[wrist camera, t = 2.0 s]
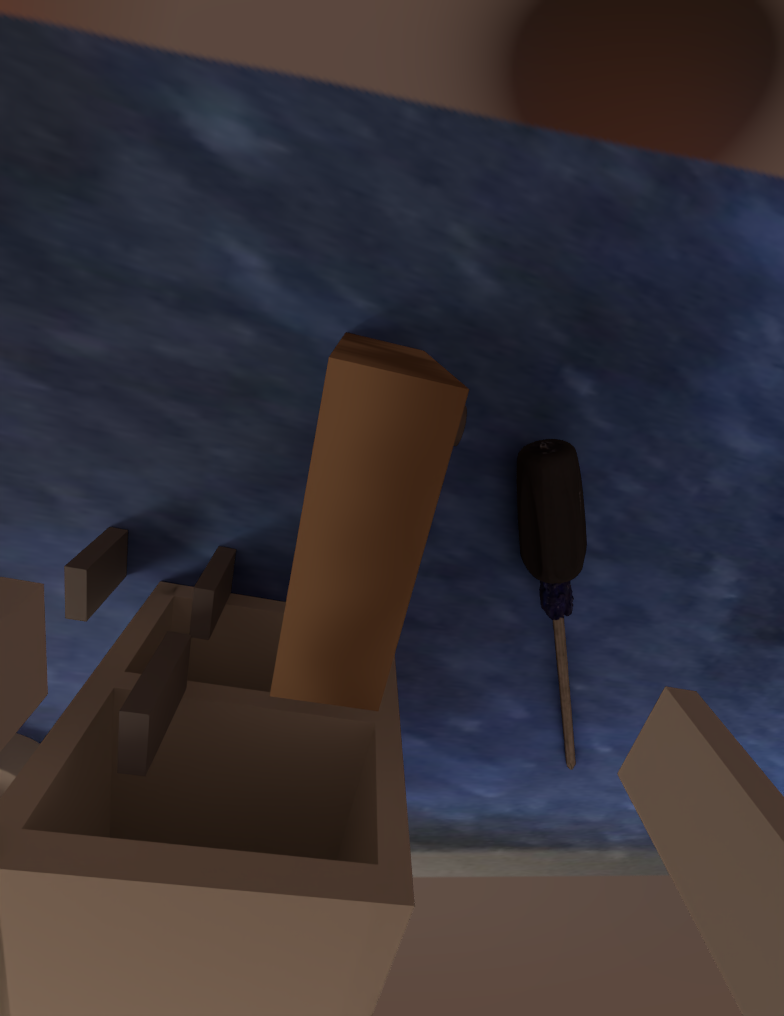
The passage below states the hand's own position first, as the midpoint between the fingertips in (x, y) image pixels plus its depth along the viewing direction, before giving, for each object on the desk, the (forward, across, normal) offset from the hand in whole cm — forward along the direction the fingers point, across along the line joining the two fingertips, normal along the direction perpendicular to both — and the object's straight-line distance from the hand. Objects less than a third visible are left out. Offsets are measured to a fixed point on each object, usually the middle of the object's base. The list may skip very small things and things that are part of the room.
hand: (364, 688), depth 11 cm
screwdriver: (+18, +14, -9) cm, 24 cm away
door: (+18, 0, 0) cm, 18 cm away
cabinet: (+18, -5, -17) cm, 25 cm away
